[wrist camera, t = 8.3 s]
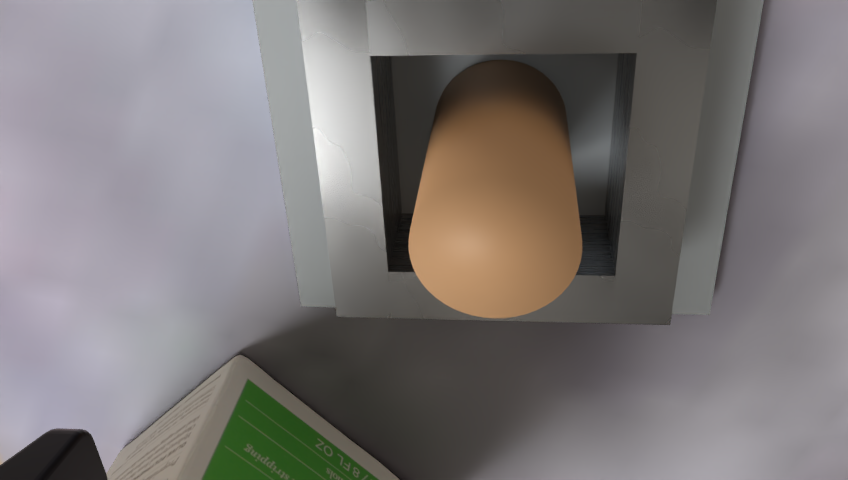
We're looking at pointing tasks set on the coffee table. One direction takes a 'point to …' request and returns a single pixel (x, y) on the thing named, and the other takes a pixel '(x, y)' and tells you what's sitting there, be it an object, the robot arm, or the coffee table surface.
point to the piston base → (583, 144)
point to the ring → (501, 35)
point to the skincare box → (244, 437)
